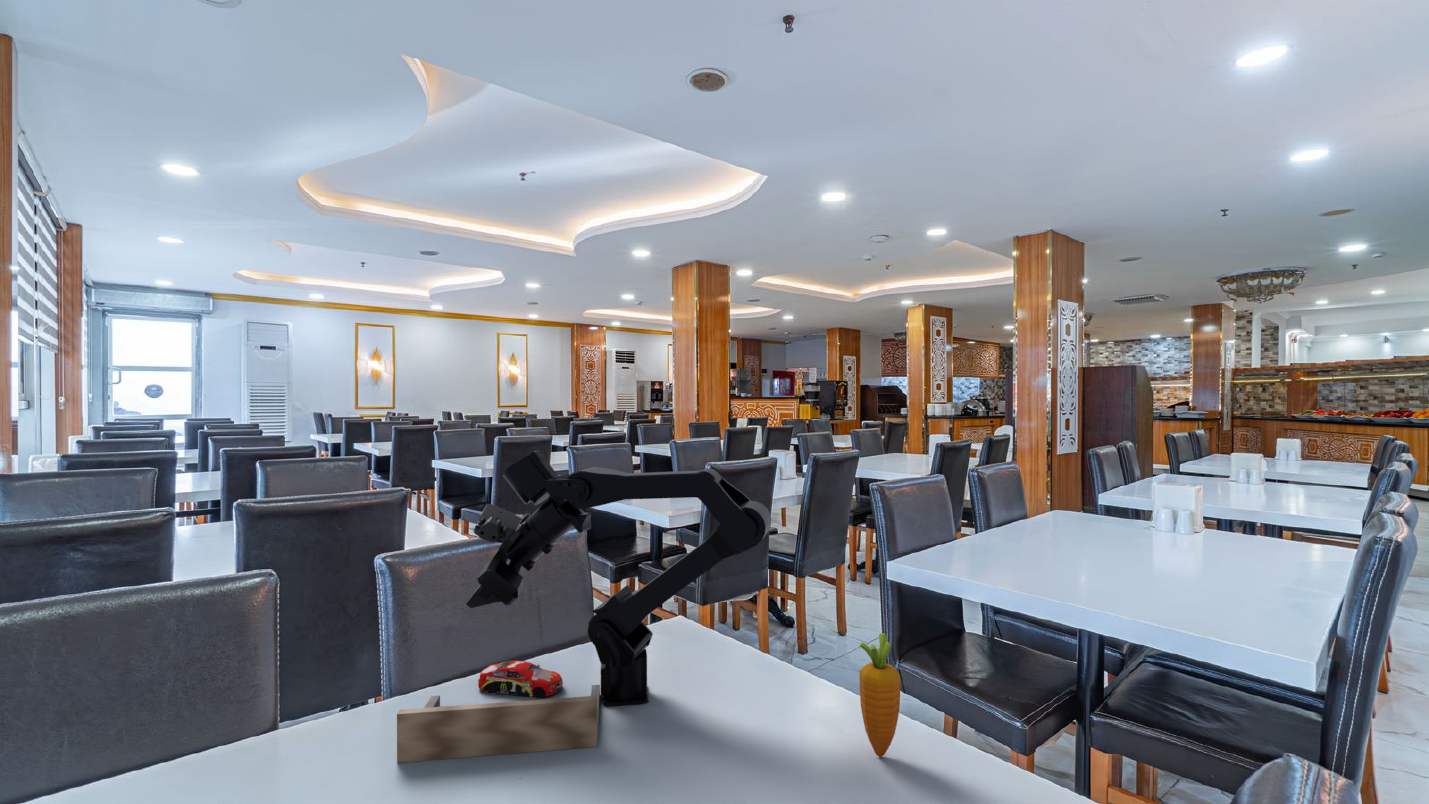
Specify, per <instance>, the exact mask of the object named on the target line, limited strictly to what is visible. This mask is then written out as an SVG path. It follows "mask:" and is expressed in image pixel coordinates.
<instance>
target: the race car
mask: <svg viewBox="0 0 1429 804" xmlns="http://www.w3.org/2000/svg"><path fill="white" fill-rule="evenodd" d="M477 681H478V682H477V683H478V684H477V686H478V689H479V690H480V691H481V692H482V691H483V692H485V693H486V692H487V694H489V695H490V694H492V695H497V694H498V695H499V694H501V695H511V696H512V695H513V696H523V697H524V696H525V697H534V698H535V699H541V700H543V699H545V698H546V697H549V696H552V695H556V694H557V693H559V692H560V691H561V690H562V689H563V685H564V684H563V683H564V681H563V678H562V676H561V674H560V673H558V672H556V671H553V670H548V669H545V668H542V667H540V664H534V663H532V662H530V661H525V660H524V661H523V660H508V661H503V662H500V663H495V664H491V665H489V666H486V668H484V669H483V670H482V671H481V672H480V674H479V678H478V680H477Z"/></svg>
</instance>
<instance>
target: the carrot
mask: <svg viewBox="0 0 1429 804" xmlns="http://www.w3.org/2000/svg"><path fill="white" fill-rule="evenodd" d="M878 635H879V636H878V640H879V641H878V642H879V647H878V648H877V646H876V645H875V644H871V645H870V646H869V645H867V644H866V643H864V642H863V641H862V642H860V643H859V647H860V648H862V650H864V651H865V652H866V654H867V655H868V656H869V658H870V660H871V662H868V663H867V664H865V665H864V666H862V667H861V668H860V671H859V676H858V677H859V697H860V700H859V701H860V708H861V715H862V721H863V724H864V730H865V734H866V735H867V738H868V740H869V743H870V745H871V747H872V749H873V751H874V753H875V755H876V756H877V757H878V756H879V757H881V758H883V756H885V755H886V754H887V751H888V749H889V747H890V746H891V744H892V742H893V738H894V737H895V735H896V730H897V726H898V721H899V715H900V708H901V707H900V704H901V702H900V701H901V683H902V681H901V675H900V672H899V671H897V669H896V668H895V667H894V666H893V665H891V664H889V663H887V657H888V655H889V653H890V651H891V648H892V644H891V643H890V642H888V635H887V634H885V633H883V632H882V633H881V632H880V633H879V634H878ZM879 757H878V758H879Z"/></svg>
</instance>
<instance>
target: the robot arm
mask: <svg viewBox="0 0 1429 804" xmlns="http://www.w3.org/2000/svg"><path fill="white" fill-rule="evenodd" d="M502 477H503V478H504V480H506V482H507V483H508V485H510V487H511V488H512V490H513V491H514V492H515V494H516V495H517V496H518V497H519V499H520V500H521V501H522V502H523V504H524V505H529V504H530V503H532V504H533V505H534V506H537V505H539V504H541V503H542V505H540V506H539V507H538V508H537V509H536V510H535V511H534V512H533V513H532V512H529V513H528V512H526V513H525V514H521V513H520V514H519V513H517V514H516V513H513V512H512V511H509V510H507V509H505V508H502V507H500V506H498V505H495V504H491V503H488V504H487V505H486V506H485V507H484V508H483V510H482V511H481V513H480V515H479V518H478V519H477V522H476V524H475V526H474V528H473V534H475V535H476V536H477V537H478V538H479V539H482V540H483V541H486V542H489V543H491V544H493V543H499V546H498V549H497V550H496V552H495V553H494V555H493V556H492V558H491V559H490V560H489V561H488V562H487V563H486V564H485V566H484V567H482V569H481V570H480V572H479V574H478V576H477V578H476V579H477V582H478V584H479V585H478V586H477V587H476V589H475V590H474V592H473V593H472V594H471V596H470V597H469V599H468V600H467V602H466V603H465V605H466V606H467V607H468V608H470V609H474V608H478V607H482V606H486V605H491V604H495V603H496V604H497V603H503V604H504V605H505V606H510V605H511V604H513V603H514V602H515V601H517V599H518V598H519V596H520V595H521V592H522V589H523V587H524V577H523V575H521V574H520V571H521V568H522V567H523V568H524V569H525V570H526V571H527V572H529V571H531V570H532V569H533V568H534V566H535V563H536V561H537V560H538V559H539V558H541V556H543V554H545V555H548V554H549V553H551V552H552V550H553V547H554V544H555V543H557V542H558V541H559V540H560V539H561V538H562V537H564V536H565V535H566V534H567V533H568V532H569V531H570V530H571V529H573V528H574V529H575V530H576V531H577V533H579V534H582V533H585V532H586V531H588V530H591V528H592V521H591V517H592V513H591V512H586V511H583V510H586V509H590V508H591V509H592V508H596V507H600V506H603V505H608V504H611V503H616V502H621V501H623V500H625V501H626V500H649V499H650V500H651V499H653V500H655V499H685V498H698V500H700V502H701V503H702V504H704V506H705V507H706V509H707V510H708V511H709V513H710V514H711V515H712V516H713V518H714V519H715V521H716V522H718V523H719V525H718V526H717V527H716V528H715V529H714V530H713V532H712V533H711V534H710V535H709V536H708V537H707V539H706V540H704V541H703V542H701V543H700V544H699V545H697V546H696V547H695V548H694V549H692V550H691V551H689V553H686V555H684V556H682V557H681V558H680V559H679V560H677V561H676V562H675V563H673V564H672V565H671V566H669V568H667V569H665V570H664V571H663V572H661V573H660V574H658V576H656V577H655V578H654V579H652V580H651V581H649V582H648V583H646V584H645V585H644V586H643V587H641V588H639V589H637V590H635V591H632V590H631V589H630V586H629V585H628V584H626V585H625V586H623V587H622V588H621V589H619V590H618V592H616V593H615V594H613V595H612V596H611V597H608V598H607V599H606V600H605V601H603V602H602V603H601V604H600V605H598V606H597V607H596V608H594V609H593V610H592V613H593V614H594V615H593V616H592V617H591V618H590V619H589V621H588V622H587V626H588V627H587V635H588V638H589V640H590V642H591V643H592V644H593V646H594V648H595V650H596V653H597V657H598V660H599V662H600V697H601V698H603V705H604V706H606V707H607V706H621V705H632V704H633V705H634V704H635V705H636V704H646V703H648V702H649V691H648V690H649V689H648V653H647V649H646V648H647V647H649V646H650V644H651V642H652V641H651V640H652V638H653V635H654V634H653V632H652V630H650V628H649V627H648V626H647V624H645V623H644V621H645V619H647V617H648V616H649V615H650V614H651V613H652V612H653V611H655V610H656V609H658V608H659V607H661V605H664V603H666V602H667V601H668V600H669V599H671V598H673V597H674V596H675V595H676V594H678V593H679V592H681V591H682V590H683V589H685V588H686V587H687V586H689V585H690V584H691V583H693V582H694V581H696V580H697V579H698V578H700V577H701V576H702V575H703V574H705V573H707V572H708V571H709V570H711V569H712V568H714V566H715V565H718V563H720V562H722V561H725V560H727V559H730V558H733V557H735V556H738V555H740V554H742V553H744V552H746V551H748V550H751V549H752V548H755V547H756V546H757V545H759V544H760V543H761V541H762V540H763V539H764V538H765V537H766V535H767V534H768V533H769V531H770V529H771V526H772V515H771V513H770V511H769V509H768V508H767V507H766V506H765V505H764V504H763V503H761V502H759V501H755V500H751V499H750V498H749V497H748V496H747V495H746V494H745V493H744V492H742V491H741V490H740V489H738V488H736V486H734V485H733V484H731V483H730V482H729V481H727V480H726V479H725V478H724V477H723V476H722V475H721V474H720V473H719V472H718V471H716V470H715V469H713V468H704V469H701V470H685V471H684V470H683V471H656V472H653V471H652V472H633V473H632V472H626V471H622V470H618V469H613V468H606V467H600V466H599V467H598V466H593V467H590V468H585V469H580V470H576V471H574V472H572V473H570V474H569V473H566V474H562V475H559V474H558V473H557V471H555V470H554V468H553V467H552V466H551V465H550V463H549V462H548V461H547V458H546V456H545V455H544V453H543V452H542V451H541V450H539V449H538V450H533V451H531V453H529V454H528V455H526V456H524V457H523V458H521V459H520V460H518V461H517V462H515V463H512V464H510V466H509V467H508V468H506V469H505V470H504V472H503V473H502ZM543 502H544V503H543Z"/></svg>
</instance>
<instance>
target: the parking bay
mask: <svg viewBox="0 0 1429 804" xmlns="http://www.w3.org/2000/svg"><path fill="white" fill-rule="evenodd" d="M590 690H591V691H590V695H589V696H588V695H587V696H576V697H574V696H573V697H561V698H558V697H557V698H547V699H546V698H543V699H533V700H532V699H531V700H517V701H505V702H503V701H501V702H490V703H487V702H486V703H475V704H473V703H472V704H463V705H462V704H461V705H459V704H458V705H445V706H441V695H430V697H429V698H428V701H427V702H426V704H425V705H424V707H420V708H419V707H417V708H405V709H404V708H402V709H399V710H398V712H397V713H396V763H397V764H399V763H400V764H401V763H413V762H424V761H425V762H426V761H435V760H436V761H437V760H448V759H460V758H461V759H462V758H471V757H472V758H473V757H484V756H497V755H498V756H499V755H500V756H501V755H511V754H521V753H533V752H535V753H536V752H546V751H556V750H557V751H559V750H569V749H570V750H571V749H583V748H584V749H585V748H593V747H594V748H596V747H598V734H599V732H598V731H599V716H600V715H599V714H600V698H601V684H591V688H590Z"/></svg>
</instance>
